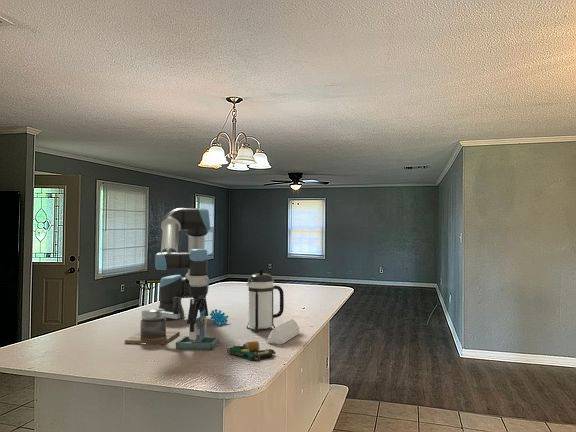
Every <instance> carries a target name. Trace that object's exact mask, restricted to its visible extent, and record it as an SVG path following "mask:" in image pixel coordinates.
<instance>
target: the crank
mask: <svg viewBox="0 0 576 432" xmlns="http://www.w3.org/2000/svg"><path fill="white" fill-rule="evenodd" d="M165 317H167V318H174V319H176V320H180V319H179V318H180V313H179V297H173V313H172V312H165V309H160V308H159V307H157V308H156V307H155V308H153V307H152V308H146V309H142V310H141V320H142V321H145V322H155V321H161V320H164V319H165Z"/></svg>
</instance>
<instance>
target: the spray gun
mask: <svg viewBox="0 0 576 432" xmlns="http://www.w3.org/2000/svg"><path fill="white" fill-rule="evenodd" d="M227 353H228V354H231V355H235V356H238V357H242V358H244V359H247V360H248V361H252V362H253V361H256V362H257V361H258V362H260V361H261V360H264V359H269V358H273V355H276V351H275V350H274V349H271V348H269V349H267V348H266V349H261V350H260V343H259V341H257V340H254V341H246V342H245V343H243V345H242V346H241V345H236V346H235V345H233V346H231V347H228V348H227Z"/></svg>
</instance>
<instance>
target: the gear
mask: <svg viewBox="0 0 576 432" xmlns="http://www.w3.org/2000/svg"><path fill="white" fill-rule="evenodd" d="M209 315H210V320H212V322H213V324H214V325H215V324H216V325H217V326H219V325H220V326H221V327H223V326H226V325H227V322H228V318H229V315H226V313H225V312H222V310H220V309H219V310H218V309H213V310H211V313H209Z"/></svg>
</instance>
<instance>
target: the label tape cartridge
mask: <svg viewBox="0 0 576 432" xmlns="http://www.w3.org/2000/svg"><path fill="white" fill-rule="evenodd" d="M202 314H203V315H202ZM204 315H205V309H204V310H203V311H202V312H201V313H200V312H199V317H198V316H197V318H196V322H195V323H196V340H191V342H192V343H200V342H201V341H202V340H203V338H204V337H206V336H205V333H206V332H205V322H204V321H205V320H204Z"/></svg>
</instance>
